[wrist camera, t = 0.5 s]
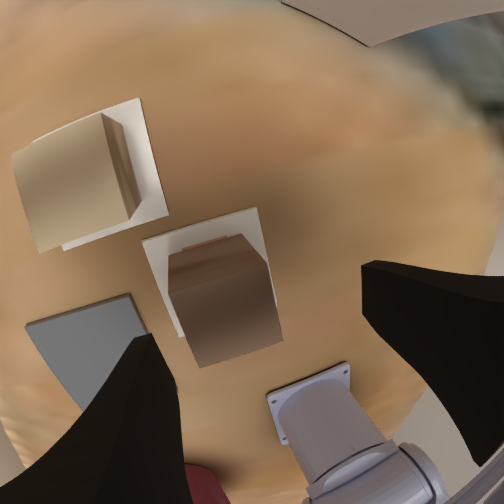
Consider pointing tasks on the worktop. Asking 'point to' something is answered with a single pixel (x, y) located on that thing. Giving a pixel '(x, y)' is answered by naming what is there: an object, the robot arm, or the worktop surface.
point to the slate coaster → (87, 344)
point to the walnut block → (223, 299)
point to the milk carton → (391, 15)
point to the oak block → (76, 181)
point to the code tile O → (142, 167)
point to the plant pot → (204, 486)
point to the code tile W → (196, 236)
